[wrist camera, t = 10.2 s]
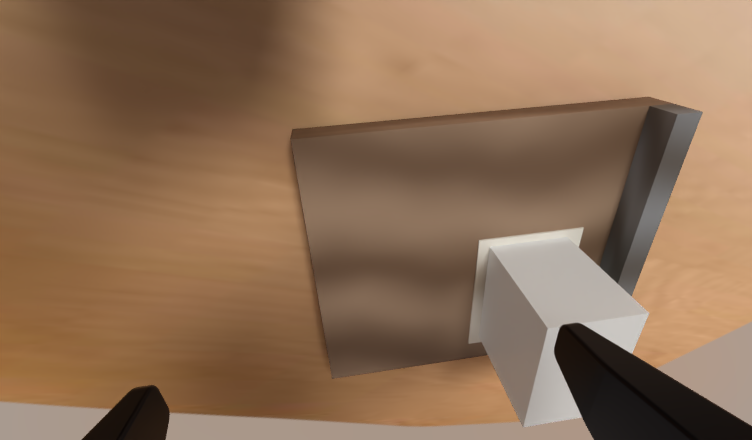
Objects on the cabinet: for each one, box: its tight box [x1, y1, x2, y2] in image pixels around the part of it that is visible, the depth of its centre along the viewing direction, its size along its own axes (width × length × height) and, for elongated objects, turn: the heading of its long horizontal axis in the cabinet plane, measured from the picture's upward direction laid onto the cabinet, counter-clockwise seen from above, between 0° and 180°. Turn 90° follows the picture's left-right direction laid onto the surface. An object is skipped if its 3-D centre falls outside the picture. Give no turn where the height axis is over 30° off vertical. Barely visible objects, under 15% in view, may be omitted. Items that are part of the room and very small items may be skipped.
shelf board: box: [291, 97, 703, 379], centre depth 21 cm, size 16×18×3 cm
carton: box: [479, 237, 649, 427], centre depth 20 cm, size 5×7×6 cm
